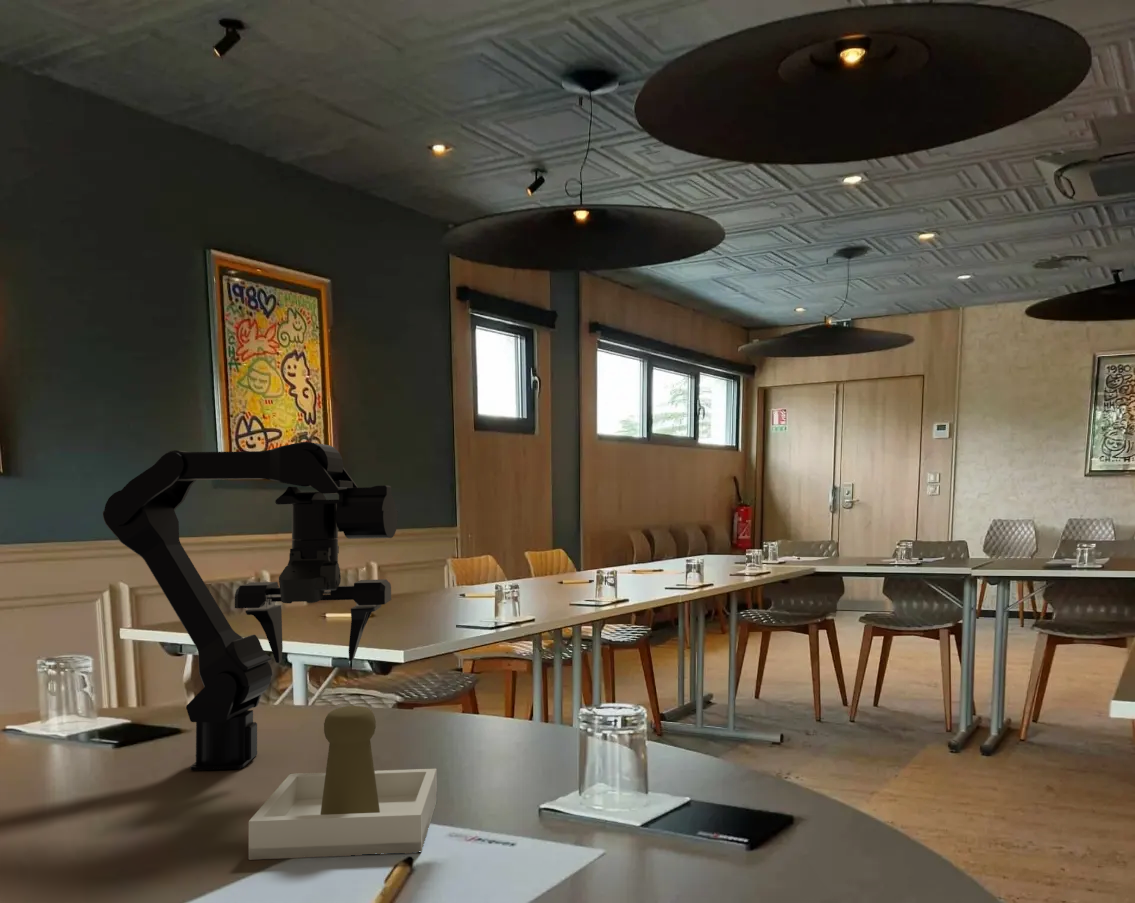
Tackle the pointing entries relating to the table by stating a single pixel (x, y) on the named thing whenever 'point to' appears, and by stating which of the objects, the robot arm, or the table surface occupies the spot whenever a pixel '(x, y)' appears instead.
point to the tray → (344, 818)
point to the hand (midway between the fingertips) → (315, 661)
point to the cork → (350, 762)
